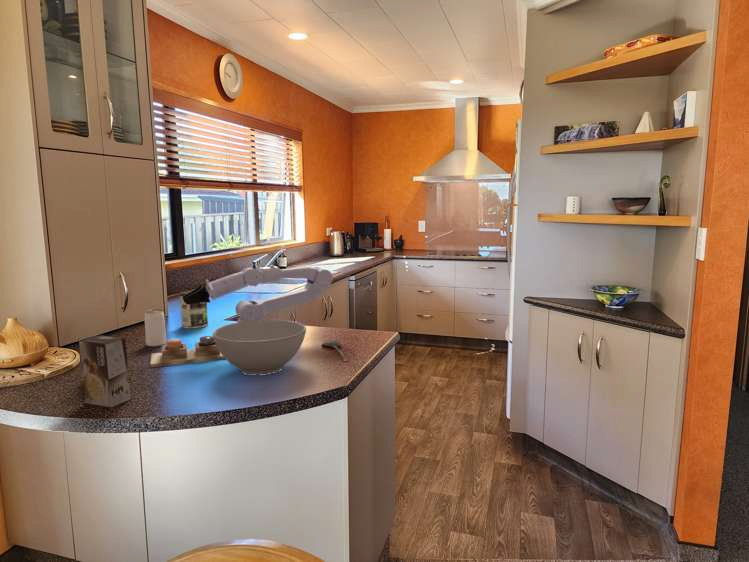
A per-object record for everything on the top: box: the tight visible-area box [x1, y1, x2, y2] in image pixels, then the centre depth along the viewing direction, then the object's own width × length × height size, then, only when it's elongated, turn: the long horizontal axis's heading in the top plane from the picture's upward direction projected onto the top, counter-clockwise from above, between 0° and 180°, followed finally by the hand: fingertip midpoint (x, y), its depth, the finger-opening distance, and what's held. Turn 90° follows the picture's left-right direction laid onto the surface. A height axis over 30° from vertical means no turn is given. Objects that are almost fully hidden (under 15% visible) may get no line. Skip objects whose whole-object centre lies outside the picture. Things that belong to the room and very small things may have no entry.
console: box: [149, 341, 226, 368], centre depth 167 cm, size 24×12×4 cm, turn 111°
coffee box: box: [78, 334, 131, 408], centre depth 129 cm, size 9×6×16 cm
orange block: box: [166, 338, 182, 350], centre depth 164 cm, size 4×4×3 cm
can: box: [144, 309, 167, 347], centre depth 182 cm, size 6×6×12 cm
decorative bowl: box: [212, 319, 307, 376], centre depth 153 cm, size 27×27×12 cm
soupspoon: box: [321, 339, 348, 359], centre depth 171 cm, size 22×3×7 cm
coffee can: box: [178, 289, 209, 329], centre depth 210 cm, size 10×10×14 cm
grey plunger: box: [199, 335, 214, 346], centre depth 168 cm, size 4×4×3 cm
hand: (184, 300), depth 168 cm, fingers open, 7 cm apart
